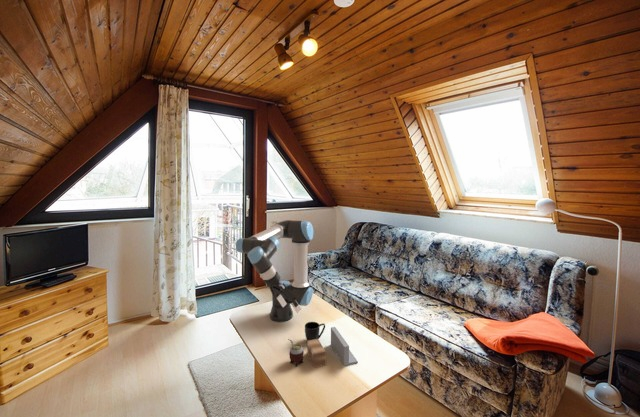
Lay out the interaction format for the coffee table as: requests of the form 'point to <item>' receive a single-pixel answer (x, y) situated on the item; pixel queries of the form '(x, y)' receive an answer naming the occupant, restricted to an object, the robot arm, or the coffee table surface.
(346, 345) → the backstop board
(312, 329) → the mug
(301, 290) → the robot arm
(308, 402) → the coffee table surface
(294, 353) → the mate gourd
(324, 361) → the tan block with ledge
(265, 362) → the coffee table surface
